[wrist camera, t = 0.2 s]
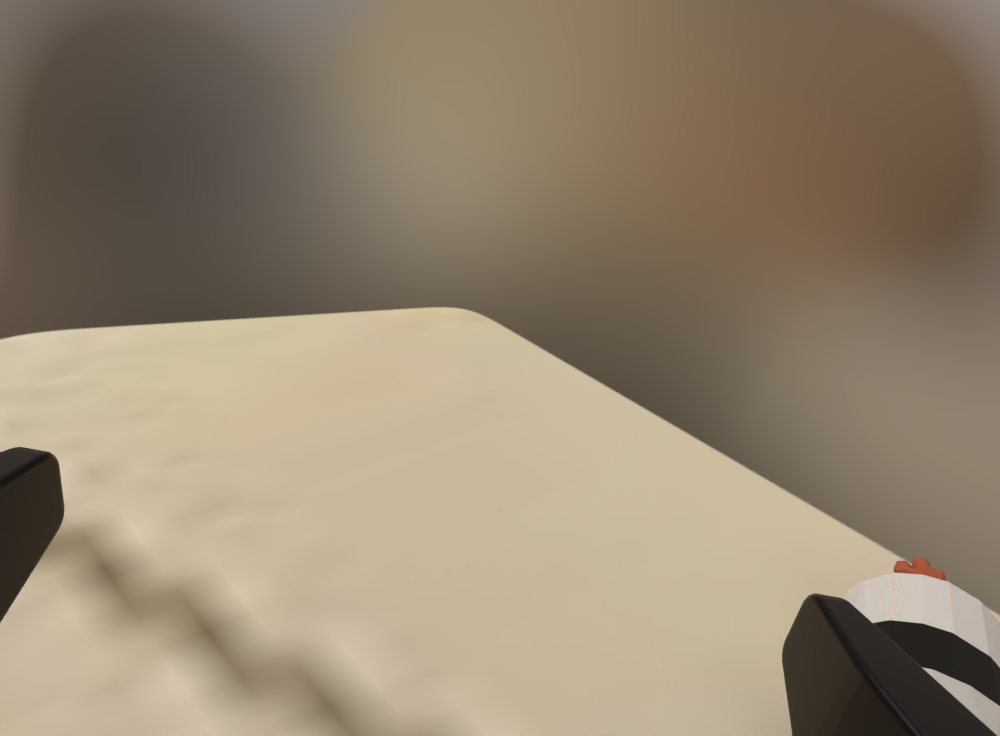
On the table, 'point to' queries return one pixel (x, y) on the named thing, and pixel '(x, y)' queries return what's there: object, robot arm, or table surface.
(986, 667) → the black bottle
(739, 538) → the table surface
